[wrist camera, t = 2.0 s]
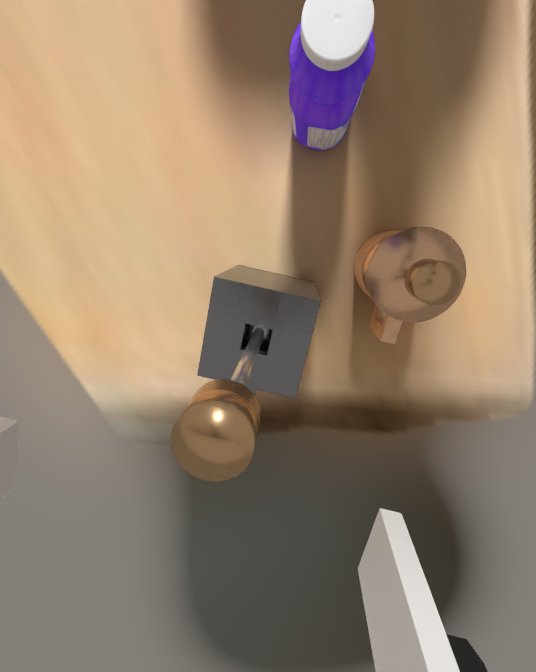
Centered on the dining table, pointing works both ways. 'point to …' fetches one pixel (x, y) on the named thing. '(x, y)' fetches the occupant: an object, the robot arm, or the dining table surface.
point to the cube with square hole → (264, 311)
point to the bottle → (329, 68)
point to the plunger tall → (222, 419)
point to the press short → (409, 277)
